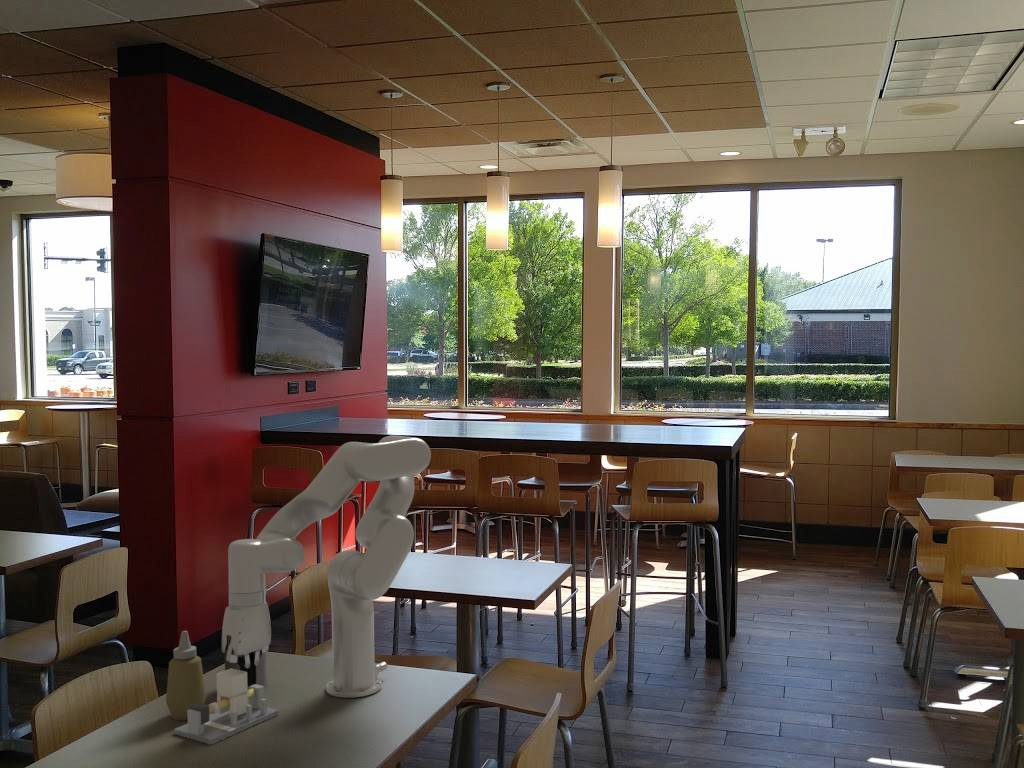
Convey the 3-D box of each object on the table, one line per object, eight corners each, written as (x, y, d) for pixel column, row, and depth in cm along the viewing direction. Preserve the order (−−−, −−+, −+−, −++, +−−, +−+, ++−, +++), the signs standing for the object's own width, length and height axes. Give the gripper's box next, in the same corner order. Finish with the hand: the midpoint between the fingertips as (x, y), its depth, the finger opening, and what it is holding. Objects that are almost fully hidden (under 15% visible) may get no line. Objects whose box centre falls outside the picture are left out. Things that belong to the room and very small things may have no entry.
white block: (232, 707, 196) (231, 668, 196) (247, 711, 194) (247, 671, 194) (217, 713, 193) (216, 673, 193) (233, 717, 190) (232, 677, 190)
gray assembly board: (242, 705, 203) (242, 677, 203) (278, 714, 197) (278, 686, 197) (173, 733, 187) (173, 704, 187) (210, 744, 182) (210, 714, 182)
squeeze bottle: (193, 724, 193) (191, 637, 192) (158, 721, 194) (156, 636, 194) (213, 709, 201) (211, 627, 200) (179, 707, 202) (177, 625, 202)
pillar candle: (215, 689, 213) (214, 624, 213) (248, 676, 222) (247, 614, 221) (245, 697, 208) (244, 631, 208) (277, 684, 217) (276, 620, 216)
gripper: (261, 589, 205) (262, 671, 205) (206, 603, 193) (208, 691, 193) (285, 593, 201) (286, 677, 202) (231, 608, 189) (232, 698, 189)
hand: (248, 684), depth 197 cm, fingers closed
